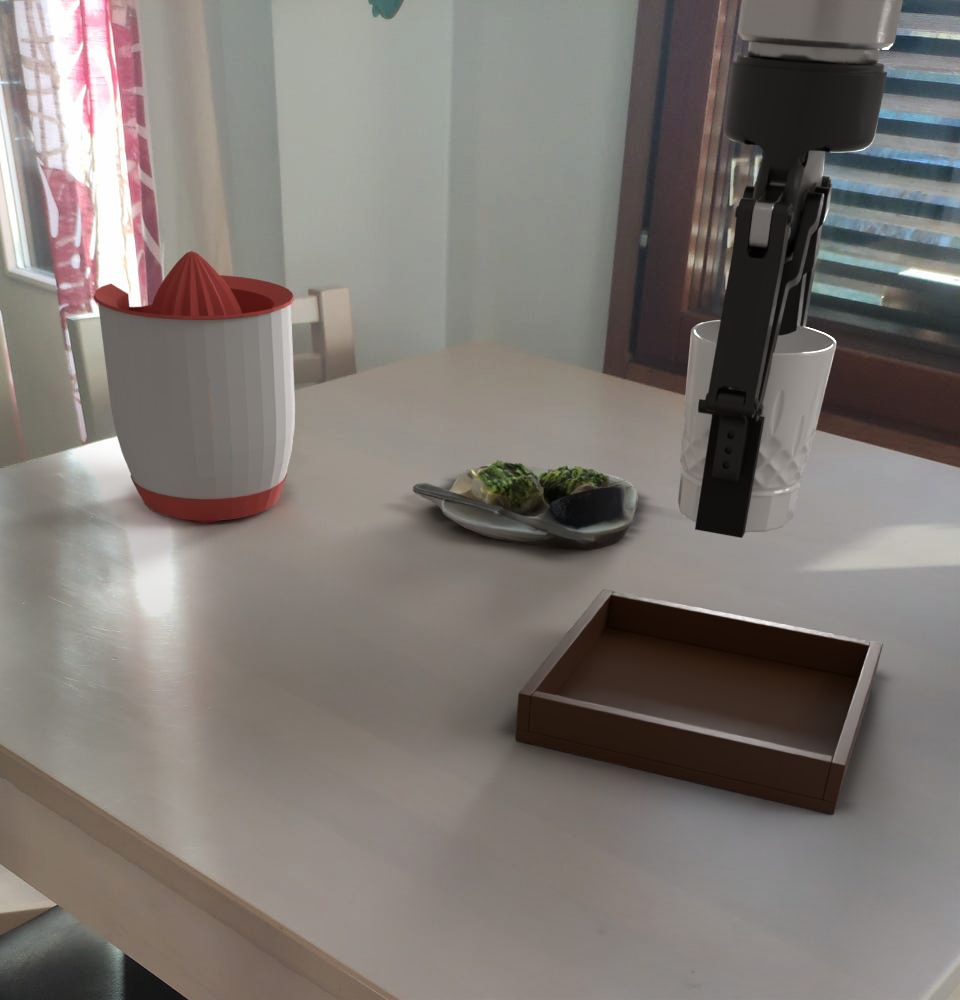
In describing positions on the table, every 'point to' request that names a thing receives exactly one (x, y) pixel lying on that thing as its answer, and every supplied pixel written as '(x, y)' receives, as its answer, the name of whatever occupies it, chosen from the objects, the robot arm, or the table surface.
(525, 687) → the tray
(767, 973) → the table surface
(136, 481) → the citrus juicer
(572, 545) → the salad plate
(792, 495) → the white cup
